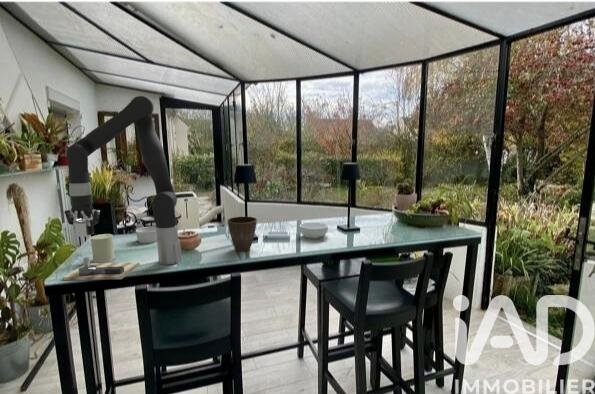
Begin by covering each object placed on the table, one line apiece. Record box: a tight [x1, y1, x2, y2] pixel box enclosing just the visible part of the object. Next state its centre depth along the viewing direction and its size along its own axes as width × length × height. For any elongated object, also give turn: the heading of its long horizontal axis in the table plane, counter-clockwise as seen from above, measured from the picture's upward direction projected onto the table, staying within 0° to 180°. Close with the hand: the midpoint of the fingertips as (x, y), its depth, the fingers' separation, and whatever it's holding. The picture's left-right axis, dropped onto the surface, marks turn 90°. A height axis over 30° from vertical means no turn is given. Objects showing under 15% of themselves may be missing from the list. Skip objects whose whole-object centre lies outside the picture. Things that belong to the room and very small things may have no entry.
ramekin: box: [135, 225, 157, 244], centre depth 187 cm, size 13×13×7 cm
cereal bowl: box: [299, 221, 329, 240], centre depth 192 cm, size 17×17×7 cm
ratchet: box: [77, 256, 124, 276], centre depth 137 cm, size 18×6×7 cm, turn 90°
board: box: [62, 262, 141, 281], centre depth 141 cm, size 24×16×1 cm, turn 90°
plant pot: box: [227, 216, 258, 253], centre depth 169 cm, size 15×15×16 cm
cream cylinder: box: [90, 233, 116, 263], centre depth 156 cm, size 9×9×12 cm
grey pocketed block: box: [74, 219, 95, 238], centre depth 135 cm, size 5×5×6 cm
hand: (84, 234), depth 136 cm, fingers closed on grey pocketed block, 4 cm apart
